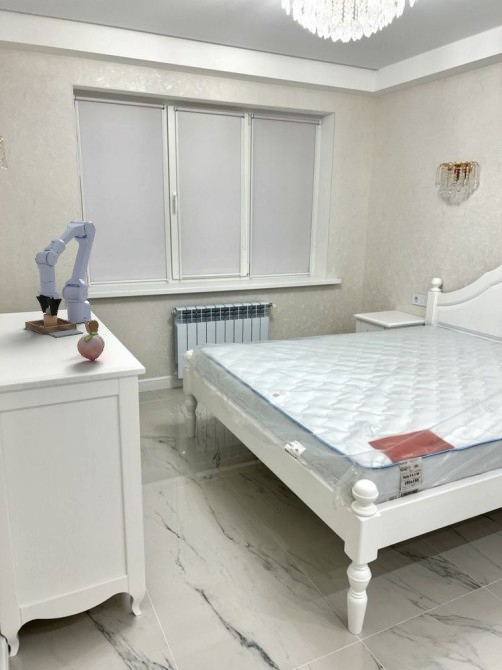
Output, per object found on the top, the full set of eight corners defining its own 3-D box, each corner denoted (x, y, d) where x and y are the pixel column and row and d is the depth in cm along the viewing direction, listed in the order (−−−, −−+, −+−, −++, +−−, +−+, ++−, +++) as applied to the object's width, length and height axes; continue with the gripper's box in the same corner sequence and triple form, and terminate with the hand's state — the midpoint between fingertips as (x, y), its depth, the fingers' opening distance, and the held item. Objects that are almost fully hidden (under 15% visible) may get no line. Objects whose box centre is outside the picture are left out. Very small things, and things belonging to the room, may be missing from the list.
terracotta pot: (54, 326, 209) (52, 306, 207) (60, 328, 206) (58, 307, 204) (41, 328, 205) (40, 307, 203) (47, 330, 202) (46, 309, 200)
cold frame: (58, 323, 216) (57, 317, 215) (76, 329, 205) (76, 323, 205) (25, 327, 206) (25, 321, 205) (43, 334, 195) (42, 328, 195)
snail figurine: (80, 349, 176) (78, 316, 173) (93, 345, 181) (92, 313, 179) (91, 351, 173) (90, 318, 171) (105, 347, 179) (103, 315, 176)
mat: (74, 330, 204) (74, 329, 204) (83, 333, 199) (83, 332, 199) (48, 334, 196) (48, 333, 196) (56, 337, 191) (56, 336, 191)
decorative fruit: (82, 356, 167) (80, 327, 165) (107, 356, 168) (105, 328, 166) (74, 365, 158) (72, 334, 156) (100, 365, 159) (99, 334, 157)
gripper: (29, 279, 203) (32, 312, 206) (46, 283, 193) (48, 318, 196) (46, 278, 208) (48, 310, 211) (63, 282, 198) (65, 315, 202)
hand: (49, 314), depth 204 cm, fingers open, 7 cm apart
